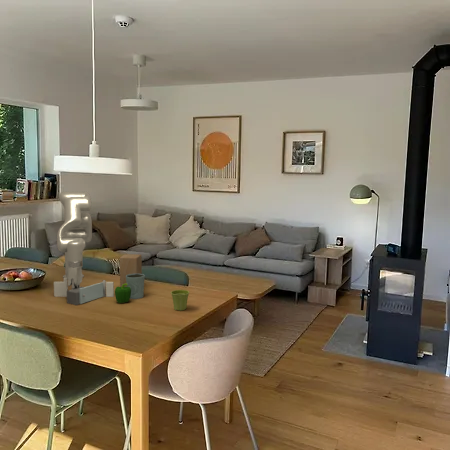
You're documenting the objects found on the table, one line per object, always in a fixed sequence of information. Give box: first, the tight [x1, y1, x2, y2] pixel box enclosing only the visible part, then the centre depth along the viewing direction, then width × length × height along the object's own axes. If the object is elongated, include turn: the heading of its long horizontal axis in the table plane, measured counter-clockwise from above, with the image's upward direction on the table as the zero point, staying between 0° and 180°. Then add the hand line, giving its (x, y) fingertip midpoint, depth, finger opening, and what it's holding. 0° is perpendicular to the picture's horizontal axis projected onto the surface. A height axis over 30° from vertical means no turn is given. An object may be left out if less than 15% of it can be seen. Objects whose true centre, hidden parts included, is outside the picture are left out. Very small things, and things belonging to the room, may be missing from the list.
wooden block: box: [119, 253, 143, 287], centre depth 257 cm, size 10×10×20 cm
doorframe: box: [53, 278, 115, 298], centre depth 243 cm, size 2×32×10 cm, turn 91°
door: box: [79, 281, 103, 305], centre depth 236 cm, size 16×2×8 cm, turn 150°
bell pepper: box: [114, 284, 131, 304], centre depth 234 cm, size 8×8×10 cm
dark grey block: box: [66, 286, 84, 306], centre depth 234 cm, size 7×10×6 cm
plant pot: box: [170, 289, 190, 312], centre depth 224 cm, size 9×9×9 cm
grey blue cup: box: [126, 273, 146, 300], centre depth 244 cm, size 10×10×12 cm
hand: (76, 297), depth 240 cm, fingers closed
